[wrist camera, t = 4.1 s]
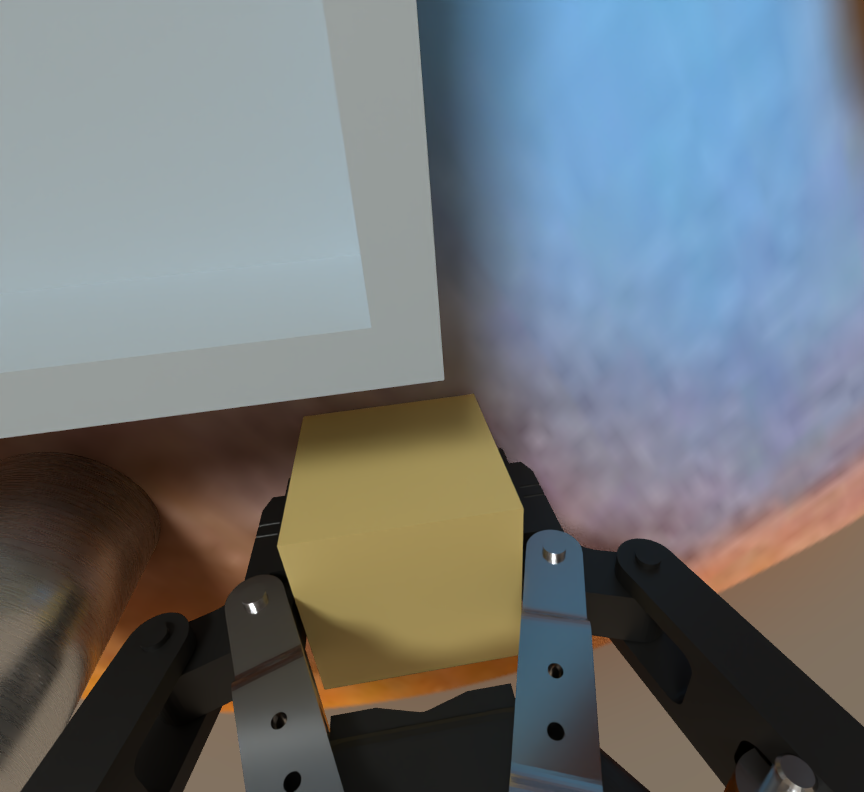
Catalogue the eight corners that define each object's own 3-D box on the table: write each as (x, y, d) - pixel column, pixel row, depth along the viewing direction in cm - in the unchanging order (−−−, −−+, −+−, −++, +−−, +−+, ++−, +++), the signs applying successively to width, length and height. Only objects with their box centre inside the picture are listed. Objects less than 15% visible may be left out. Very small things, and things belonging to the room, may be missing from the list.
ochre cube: (473, 393, 14) (523, 508, 10) (478, 518, 17) (520, 654, 12) (303, 416, 14) (277, 545, 9) (334, 540, 16) (324, 689, 12)
